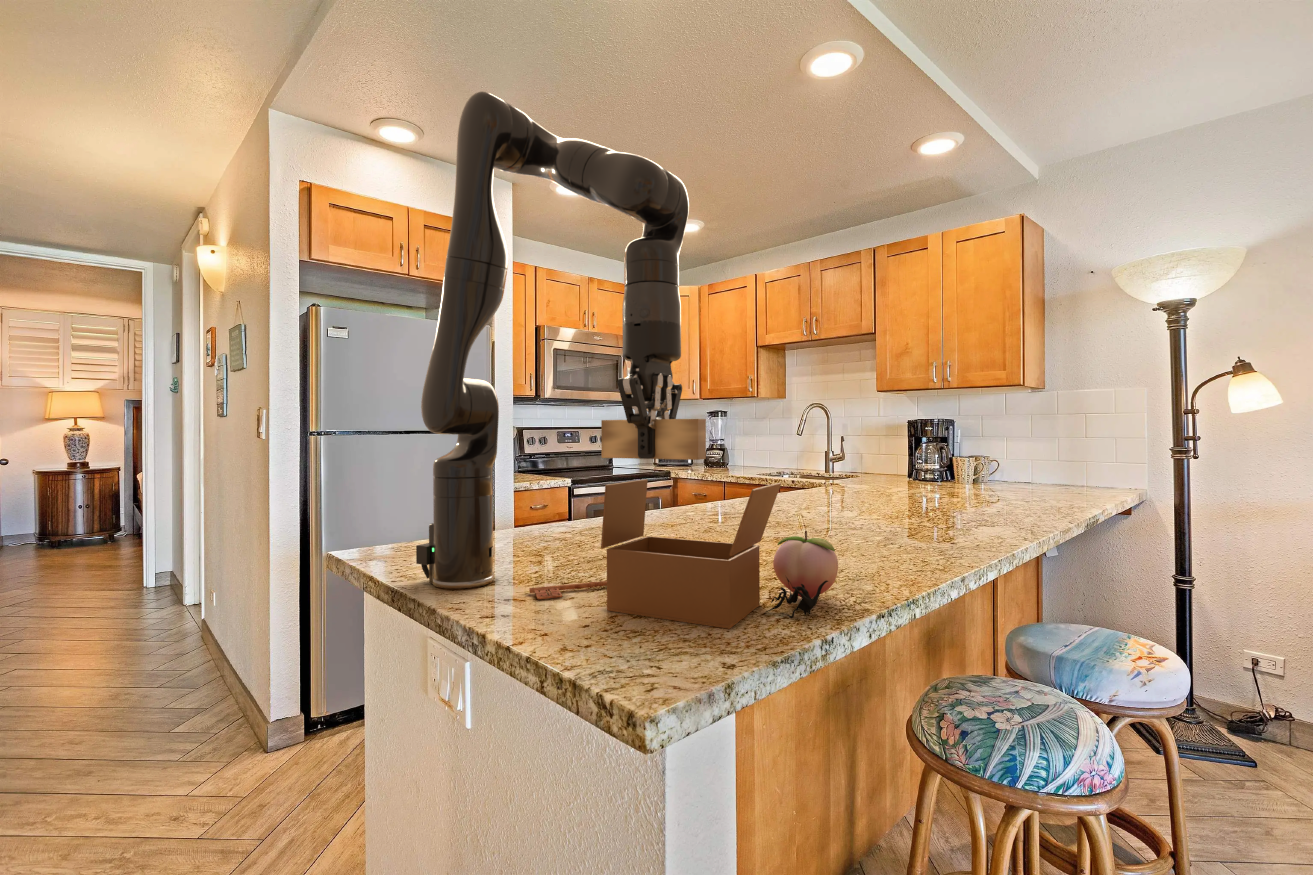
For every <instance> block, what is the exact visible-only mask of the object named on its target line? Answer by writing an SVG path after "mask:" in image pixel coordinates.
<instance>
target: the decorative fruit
mask: <svg viewBox="0 0 1313 875" xmlns="http://www.w3.org/2000/svg"><path fill="white" fill-rule="evenodd" d="M777 546H779V547H777V550H776V552H775V553H774V557H773V562H772V565H773V571H774V573H775V576H776V577H777V579H778V581H779V582H780V583H781V584H782V585H783V586H784V588H785V589H787V590H789V592H790V591H791V593H792V594H793V593H794V591H795V589H793V588H792V586H793V587H798V586H801V584H803V585H804V586H805V589H806V590H807V591H808V593H809V596H810V598H811V599H812V598H814V597H815V596H816V594H817V590H818V587H819V586H820V585H821V584H822V583H823V582H824V581H828V582H826V583H825V584H824V585H823V587H822V589H821V593H820V595H822V594H824V593H825V592H827V591H828V590H829V589H831V587H832V586H833V585H834V584H835V581H836V579H837V576H838V573H839V572H838V570H839V560H838V559H839V558H838V556H837V554H836V550H835V547H834V545H833V544H832V543H831V542H829V540H827V539H825V538H821V537H812V538H808V531H807V530H804V537H802V536H798V535H794V536H793V535H792V536H787V537H782V538H781V539H780V540H779V541H778V543H777ZM786 577H787V578H788V580H789V581H790V582H789V584H788V580H787V578H786ZM790 583H791V584H790ZM791 585H792V586H791ZM789 587H790V588H789ZM801 587H802V586H801ZM800 592H801V593H802V591H800ZM802 594H803V593H802ZM798 598H801V599H802V597H801V595H800V594H799V593H798Z"/></svg>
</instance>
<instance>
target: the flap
mask: <svg viewBox="0 0 1313 875" xmlns="http://www.w3.org/2000/svg"><path fill="white" fill-rule="evenodd" d="M781 485H782V482H777V483H772V484H768V485H765V486H760V487H757V488H752V489H751V491H750V494H749V497H748V500H747V503H746V505H745V508H744V511H743V514H742V517H741V520H740V523H739V525H738V528H737V531H736V534H735V537H734V540H733V542H732V543H733V545H732V548H731V551H730V554H729V555H730V556H732V555H734V554H736V553H738V552H740V551H742V550H744V549H746V548H748V547H750V546H752V545H757V544H758V543H761V541H762V539H763V535H764V533H765V531H766V527H767V525H768V521H769V519H770V517H771V513H772V512H773V511H772V510H773V509H774V505H775V502H776V500H777V497H778V494H779V491H780V488H781Z"/></svg>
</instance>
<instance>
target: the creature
mask: <svg viewBox="0 0 1313 875" xmlns="http://www.w3.org/2000/svg"><path fill="white" fill-rule="evenodd" d="M786 578H787V577H786ZM787 580H788V578H787ZM789 582H790V581H789V580H788V584H789ZM826 582H828V581H824V582H823V583H822V584H821V585H820V586H819V587H818V590H817V594H816V596H815V597H813V598H810V596H809V593H808V591H807V590H806V589H805V586H804V585H803V584H801V586H802V587H801V586H798V587H793V586H792V585H791V586H792V588H793V589H795V591H794V593H793V592H791V591H790V590H789V591H788V590H786V588H785V587H782V586H781V587H780V590H781V591H780V592H779V594H778V596H777V597H776V596H774V597H773V598H772V599H771V603H770V604H772V603H773V602H774V603H777V604H776V605H774V606H773V607H772V608H770V609H768V610H766V611H765V612H764V615H769V614H771V612H770V611H773V610H776V609H779V608H781V606H782V605H783V604H784V602H786V604H788V605H792V604H796V603H797V602H798V600H799V596H798V593H799V594H800V595H801V597H802V598H801V597H800V598H801V599H800V601H799V602H798V604H797V606H796V607H795V608H794V609H793V611H792V613H791V615H790V614H787V613H786V614H785V612H781V614H782V615H783V616H788V617H789V618H790V619H794V616H795V614H796V611H799V610H800V611H802V612H803V614H804V616H806V615H807V614H808V615H811V610H812V609H813V608H815V607H816V605H817V603H818V600H819V598H820V596H821V594H820V593H821V589H822V587H823V585H824V584H825V583H826ZM790 584H791V583H790ZM789 588H790V587H789ZM800 591H802V593H803V594H802V593H801V592H800ZM787 593H788V594H789V596H787V595H788V594H787ZM774 600H775V601H774ZM769 612H770V613H769Z"/></svg>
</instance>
